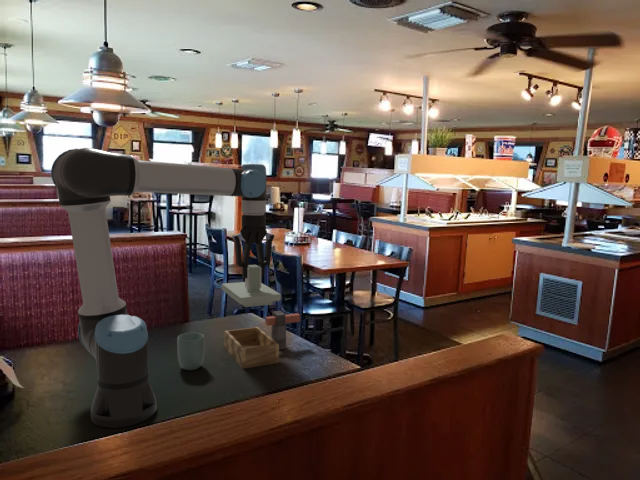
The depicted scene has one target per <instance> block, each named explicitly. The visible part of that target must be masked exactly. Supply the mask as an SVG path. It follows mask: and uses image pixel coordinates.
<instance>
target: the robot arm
mask: <svg viewBox="0 0 640 480" xmlns="http://www.w3.org/2000/svg"><path fill="white" fill-rule="evenodd" d="M50 176H51V180H52V183H53V185H54V186H55V188H56V191H57V197H58V203H59V206H60V207H61V208H62V209H64V211H66V212H67V214H68V220H69V225H70V233H71V238H72V245H73V249H74V256H75V261H76V268H77V273H78V274H77V275H78V281H79V286H80V292H81V298H82V302H83V303H82V305H81V306H80V307H79V308H78V310H77V314H78V320H79V323H78V326H77V329H78V330H77V332H78V333H77V334H78V339H79V342H80V344H81V345H82V346H83V348H85V349H86V350H87V351H88V352H89V353H90V355H92V357H94V359H95V361H96V362H95V363H96V378H97V379H96V380H97V383H96V384H97V386H96V390H95V393H94V396H93V400H92V404H91V406H90V421H91V422H92V423H93V424H94V425H95V426H98V427H102V428H108V429H117V428H126V427H130V426H134V425H137V424H141V423H143V422H145V421H146V420H148V419H150V418H151V417H152V416H154V415H155V413H156V412H157V409H158V407H157V398H156V395H155V393H154V390H153V387H152V385H151V382H150V380H149V351H148V350H149V349H148V348H149V345H148V340H149V334H148V329H147V328H148V327H147V324H146V321H144V320H143V318H141V317H138V316H136V315H130V314H128V309H127V303H126V301H125V300H123V299H122V298H121V297H120V296H119V292H118V285H117V277H116V271H115V264H114V257H113V251H112V250H113V249H112V245H111V244H112V243H111V237H110V232H109V231H110V230H109V224H108V223H109V222H108V218H107V212H106V211H107V210H106V209H107V206H108V205H109V204H110V203H111V201H112V200H111V197H117V196H121V197H122V196H127V197H131V196H133V195H134V194H135V193H151V194H153V193H154V194H155V193H156V194H157V193H158V194H173V195H174V194H176V195H177V194H178V195H179V194H180V195H199V196H200V195H201V196H224V197H236V198H237V197H241V213H242V215H241V229H240V230H239V233H237V234H232V236H231V237H232V240H233V241H234V249H235V250H234V251H235V252H234V254H235V264H236V266H238V267H240V268H242V271H241V272H242V273H241V276H242V278H243V279H244V282H245V288H247V289H250V268H248V265H249V263H250V262H249V261H250V257H251V256H250V255H251V250H252V246H253V244H255V248H256V255H257V262H258V266H259V267H260V288H261V283H262V278H264V276H265V268H266V266H270V264H271V258H272V257H271V256H272V247H273V242H274V239H275V234H272V233H269V232H268V231H267V229H266V226H267V223H266V222H267V221H266V219H267V216H266V212H267V179H268V178H267V168H266V166H265V165H264V164H261V163H243V164H242V165H241V168H231V167H221V166H210V165H209V166H208V165H198V164H189V163H187V164H186V163H185V164H184V163H175V162H163V161H152V160H151V161H150V160H141V159H140V160H139V159H136V158H135V157H134V156H133V155H131V154H124V153H123V154H121V153H117V152H116V153H115V152H109V151H105V150H102V149H96V148H93V147H83V148H72V149H68V150H65V151H64V152H62V153H61V154H59V155H58V156H57V157H56V158H55V159H54V161H53V163H52V165H51V171H50ZM264 238H265V247H264V250H263V241H264ZM242 239H243V240H244V250H243V255H242V245H241V240H242Z"/></svg>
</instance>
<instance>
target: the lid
mask: <svg viewBox="0 0 640 480" xmlns="http://www.w3.org/2000/svg"><path fill="white" fill-rule="evenodd" d="M248 268H250V289H247V288H245V281H240V282H225V283H221V291H223V292H224V293H225V294H227V296H230V298H231V299H233V300H235V301H236V302H237V303H238V305H241V306H242V307H244V308H251V307H259V306H260V307H261V306H270V305H274V302H279V301H281V300H282V294H281V293H280V292H278V291H276V290H274V289H272V288H271V287H269V286H268V285H266V284H264V283H262V282H261V288H260V267H259V265H257V264H248Z"/></svg>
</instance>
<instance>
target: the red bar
mask: <svg viewBox="0 0 640 480" xmlns="http://www.w3.org/2000/svg"><path fill="white" fill-rule="evenodd" d="M264 319H265V320H264V322H265V325H266V326H272V325H276V316H272V315H270V316H265V317H264ZM299 322H301V314H300V313H298V312H295V313H289V314H288V313H287V314H285V324H293V323H299Z"/></svg>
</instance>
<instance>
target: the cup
mask: <svg viewBox="0 0 640 480" xmlns="http://www.w3.org/2000/svg"><path fill="white" fill-rule="evenodd" d="M176 343H177V344H176V345H177V346H176V347H177V361H178V364H179V366H180V368H182V369H183V370H186V371H194V370H197V369H199V368H201V366H202V365H203V364H204V359H205V335H204V334H203V333H200V332H185V333H182V334H179V335H178V336H177V341H176Z"/></svg>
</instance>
